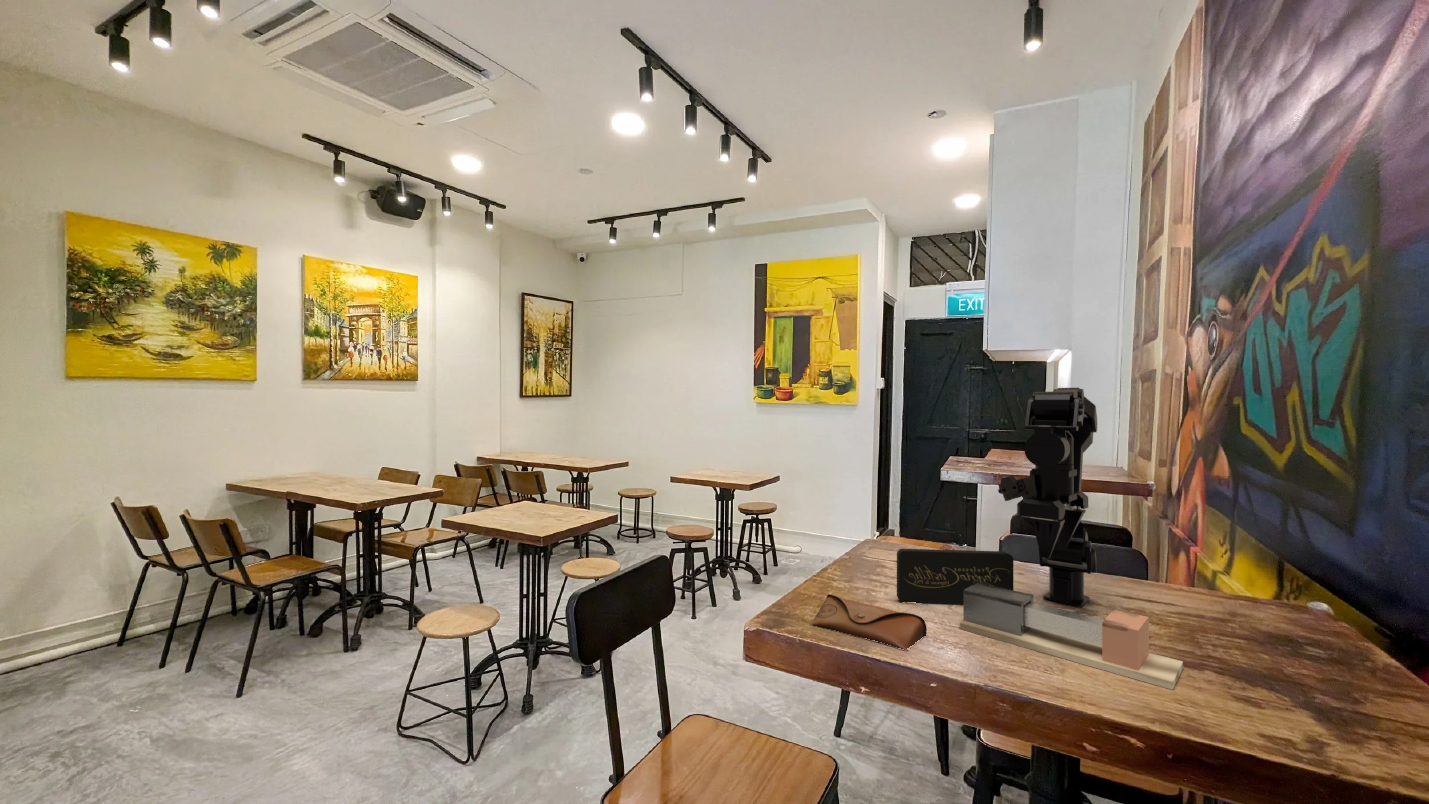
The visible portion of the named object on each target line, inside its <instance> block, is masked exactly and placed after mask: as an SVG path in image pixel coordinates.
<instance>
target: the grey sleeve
mask: <svg viewBox="0 0 1429 804" xmlns="http://www.w3.org/2000/svg"><path fill="white" fill-rule="evenodd" d="M1028 602H1031V603H1034V594H1032V593H1026V592H1021V591H1017V590H1014V589H1013V590H1009V589H1005V588H1000V587H996V586H991V585H987V584H982V583H976V584H974V585H972V586H970V587H968V588H966V589H964V604H963V605H962V606H963V607H962V608H963V618H962V619H963V620H962V621H967V622H970V623H974V624H978V625H981V626H985V627H989V628H992V629H996V630H1000V631H1003V632H1007V633H1011V634H1014V635H1018V636H1022V635H1023V634H1024V633H1026V632H1027V631H1028V630H1030V629H1031V627H1028V626H1024V625H1023V605H1025V604H1026V603H1028Z"/></svg>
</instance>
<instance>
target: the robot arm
mask: <svg viewBox="0 0 1429 804" xmlns="http://www.w3.org/2000/svg"><path fill="white" fill-rule="evenodd" d="M1026 407H1027V408H1026V414H1025V422H1024V430H1026V431H1029V430H1030V431H1034V434H1032V435H1031V436H1030V437H1028V438H1027V440H1026V441H1025V444H1024V447H1023V450H1024V455H1025V456H1026V458H1027V460H1028V461H1029V462H1030V463H1031V464H1032V465H1034V466H1035V467H1033V468H1031V469H1030V470H1029V476H1028V477H1025V478H1024V477H1023V478H1020V479H1016V478H1015V477H1014V475H1009V476H1006V477H1001V478H1000V484H998V489H997V491H998V494H1000V495H1001V494H1002V497H1003V499H1004V501H1005V502H1007V501H1009V502H1010V501H1011V500H1015V499H1019V498H1021V497H1024V496H1028V497H1025V498H1023V499H1021V500H1020V501H1018V503H1017V504H1016V507H1017V508H1016V511H1017V512H1016V515H1017V516H1020V518H1021V520H1023V521H1025V522H1026V523H1028V524H1029V525H1030V526H1031V527H1032V530H1033V532H1034V533H1033V534H1034V535H1035V536H1034V537H1035V538H1036V541H1037V542H1036V543H1037V546H1038V557H1039V566H1040V567H1046V568H1048V569H1049V570H1048V571H1049V573H1048V575H1049V577H1048V578H1049V579H1048V580H1049V581H1048V583H1049V585H1048V587H1049V589H1048V590H1049V591H1048V592H1046V593H1044V594H1043V595H1042V598H1043V599H1044V600H1049V601H1053V602H1058V603H1062V604H1065V605H1070V606H1075V607H1080V608H1081V607H1083V606H1084V605H1085V604H1086V603H1088V601H1090V599H1091V598H1090V596H1087V595H1085V590H1084V589H1085V578H1084V577H1085V574H1089V575H1091V574H1093V573H1094V574H1095V573H1096V574H1097V555H1096V549H1095V548H1094V547H1093V544H1092V541H1091V540H1089V535H1088V532H1087V529H1086V528H1085V526H1084V524H1083V522H1082V521H1081V520H1082V518H1083V517H1084V515H1085V513H1086V509H1087V508H1089V496H1088V495H1087V494H1086V493H1084V491H1082V479H1083V461H1084V460H1083V459H1084V453H1085V452H1086V451H1087V450H1088V449H1089V447H1090V446H1091V445H1092V444H1093V443H1094V433H1098V413H1097V405H1095V403H1093V402H1092V401H1090V399H1088V398H1087V397H1086V396H1085V391H1084V389H1083V388H1080V387H1057V388H1054V389H1053V391H1034V392H1033V393H1032V396H1031V397H1029V398H1028V402H1027V406H1026Z"/></svg>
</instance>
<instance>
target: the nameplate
mask: <svg viewBox="0 0 1429 804" xmlns="http://www.w3.org/2000/svg"><path fill="white" fill-rule="evenodd" d="M1014 561H1015V560H1014V556H1013V555H1011V554H1009V552H1007V551H1003V550H1001V551H999V550H998V551H997V550H969V549H968V550H965V549H964V550H961V549H956V550H955V549H926V548H900V549H898V550H897V552H896V597H897V599H898V600H899V602H900V603H902V602H916V603H922V604H921V605H946V606H947V605H949V606H963V604H964V589H966V588H968V587H970V586H972V585H974V584H976V583H982V584H987V585H991V586H996V587H1000V588H1005V589H1009V590H1014Z"/></svg>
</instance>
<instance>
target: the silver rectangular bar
mask: <svg viewBox="0 0 1429 804" xmlns="http://www.w3.org/2000/svg"><path fill="white" fill-rule="evenodd" d="M1104 620H1105V619H1103V618H1099V617H1095V616H1090V615H1087V614H1081V613H1078V612H1075V611H1074V612H1073V611H1070V610H1064V609H1060V608H1056V607H1052V606H1047V605H1043V604H1038V603H1034V602H1033V603H1031V602H1028V603H1026V604H1025V605H1023V625H1024V626H1028V627H1031V628H1035V629H1039V630H1043V631H1047V632H1051V633H1054V634H1058V635H1062V636H1066V637H1070V638H1074V639H1077V640H1081V641H1085V642H1089V643H1093V644H1097V645H1100V646H1102V622H1103V621H1104Z"/></svg>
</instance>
